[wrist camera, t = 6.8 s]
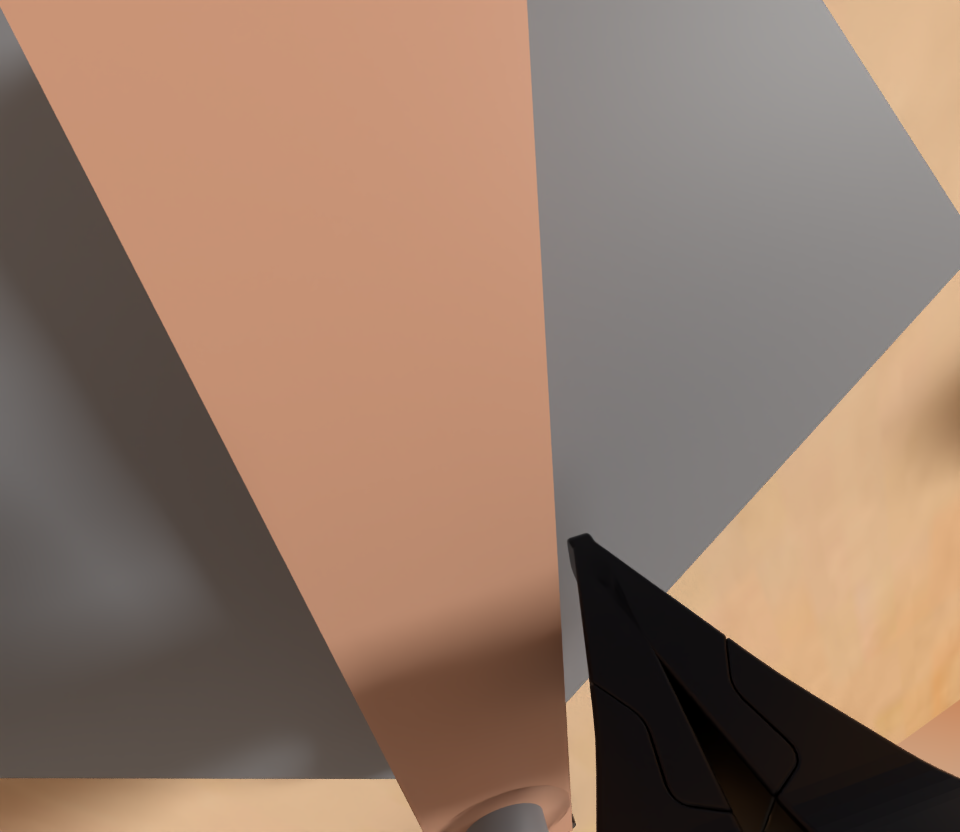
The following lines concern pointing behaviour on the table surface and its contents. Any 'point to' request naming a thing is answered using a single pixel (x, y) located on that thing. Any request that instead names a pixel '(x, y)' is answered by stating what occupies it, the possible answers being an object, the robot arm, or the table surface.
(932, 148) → the table surface
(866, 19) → the table surface
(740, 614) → the table surface
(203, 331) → the link
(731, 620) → the table surface
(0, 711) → the board
